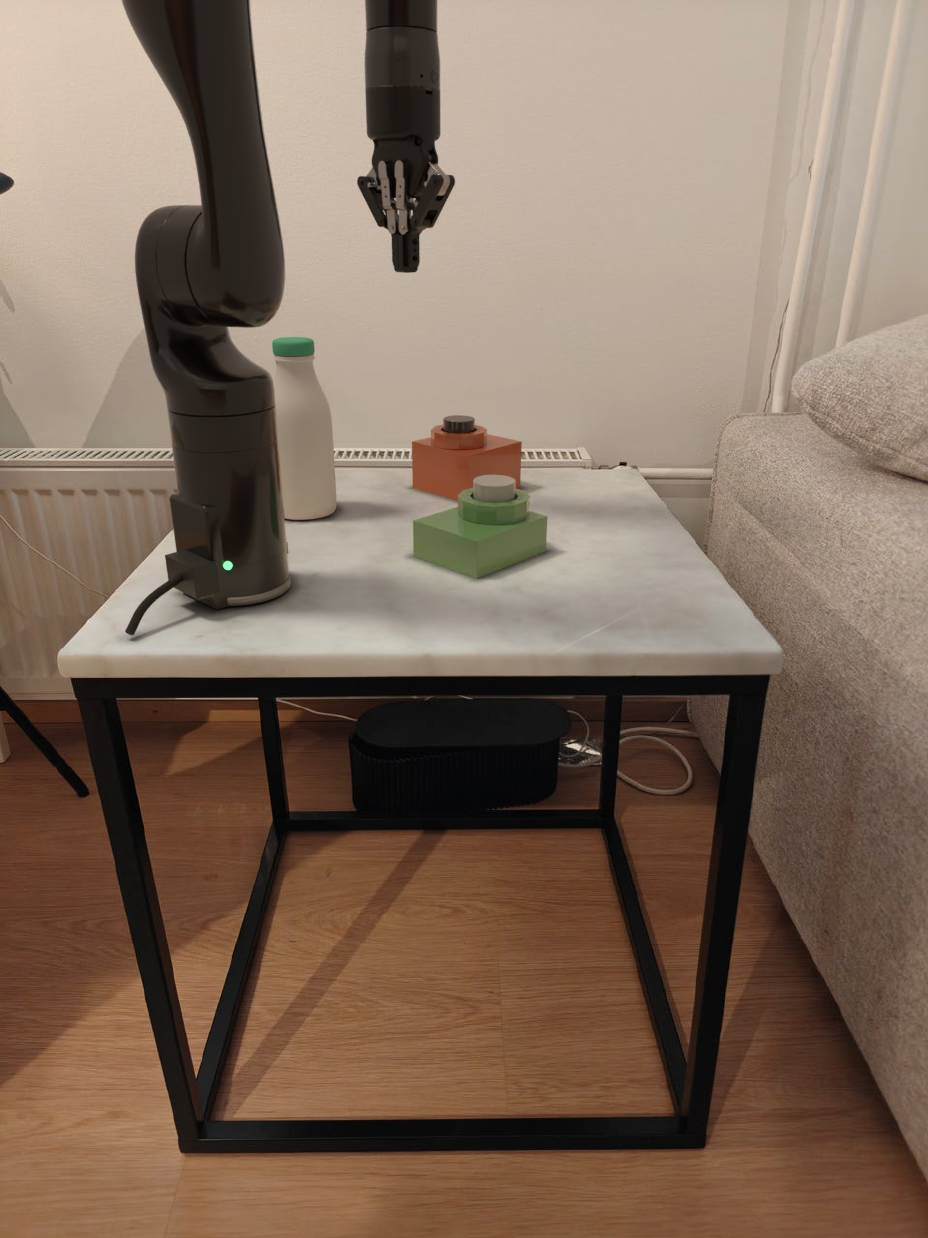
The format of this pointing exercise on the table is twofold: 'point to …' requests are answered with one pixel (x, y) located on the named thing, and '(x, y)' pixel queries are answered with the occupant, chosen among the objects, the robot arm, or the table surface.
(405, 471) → the table surface
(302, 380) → the milk bottle
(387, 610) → the table surface
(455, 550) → the green push button housing
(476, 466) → the terracotta push button housing
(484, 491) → the light grey push button
